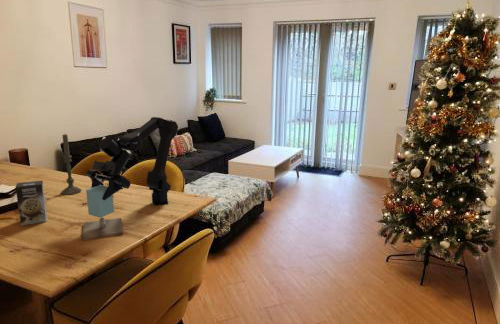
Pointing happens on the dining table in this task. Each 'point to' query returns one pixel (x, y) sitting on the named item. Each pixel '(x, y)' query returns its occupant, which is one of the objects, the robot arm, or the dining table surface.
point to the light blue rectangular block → (99, 201)
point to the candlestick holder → (70, 180)
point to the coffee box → (31, 202)
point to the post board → (102, 228)
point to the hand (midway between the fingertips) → (96, 198)
